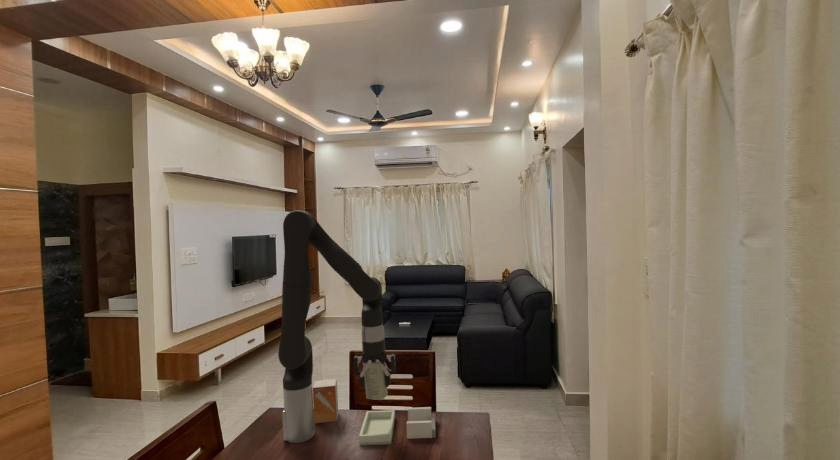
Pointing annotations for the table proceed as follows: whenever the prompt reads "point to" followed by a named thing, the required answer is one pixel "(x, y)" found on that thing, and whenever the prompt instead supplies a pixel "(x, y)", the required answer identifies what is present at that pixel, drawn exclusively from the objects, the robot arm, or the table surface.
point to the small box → (325, 401)
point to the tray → (377, 428)
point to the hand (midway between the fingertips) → (375, 386)
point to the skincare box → (375, 381)
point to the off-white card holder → (420, 423)
